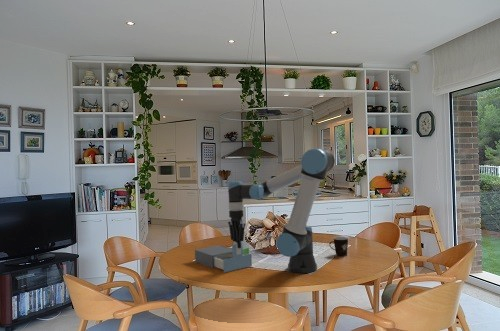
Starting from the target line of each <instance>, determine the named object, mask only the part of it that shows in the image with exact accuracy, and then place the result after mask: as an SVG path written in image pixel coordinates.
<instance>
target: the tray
mask: <svg viewBox="0 0 500 331" xmlns="http://www.w3.org/2000/svg"><path fill="white" fill-rule="evenodd" d="M231 248H232V253H228V254H223V255H218V256H213V258H214V266H215V267H217V269H220V270H223V273H227V272H232V271H233V272H234V271H237V270H240V269H244V268H248V267H252V265H253V262H252V258H253V257H252V253H250V254H247V255H243V247H242V243H241V254H238V255H236V244H234V243H233V244H231Z"/></svg>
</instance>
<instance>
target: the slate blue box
mask: <svg viewBox="0 0 500 331" xmlns="http://www.w3.org/2000/svg"><path fill="white" fill-rule="evenodd" d="M228 253H232V247H228V246H226V245H225V246H224V245H221V244H218V245H214V246H209V247H203V248H198V249H194V261H195V262H196V263H197V264H200V265H203V266H206V267H208V268H211V269H216V268H217V267H215V266H214V258H213V256H218V255H223V254H228ZM217 269H218V268H217Z"/></svg>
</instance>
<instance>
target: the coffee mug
mask: <svg viewBox="0 0 500 331" xmlns="http://www.w3.org/2000/svg"><path fill="white" fill-rule="evenodd" d="M332 243H333V244H334V248H333V247H332V246H331V244H332ZM348 244H349V238H348V237H345V236H335V237H333V241H329V244H328V246H329V247H330V248H331V250H333V251H335V256H337V257H347V255H348V247H349V245H348Z"/></svg>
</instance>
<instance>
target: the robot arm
mask: <svg viewBox="0 0 500 331" xmlns="http://www.w3.org/2000/svg"><path fill="white" fill-rule="evenodd" d="M301 156H302V157H301V161H300V163H301V164H299V165H297V166H295V167H292V168H291V169H288V170H287V171H285V172H282V173H281V174H277V175H275V176H274V177H272V178H270V179H268V180H266V181H263V182H261V183H255V184H254V183H253V184H243V182H242V181H241V180H240V181H239V180H237V181H233V180H232V181H229V182H228V189H227V192H228V193H227V194H228V210H229V211H228V214H229V215H228V216H229V218H230V221H228V222H227V224H228V227H229V233H230V240H232V242H233V244H236V255H238V254H241V241H243V240H244V230H245V228H246V223H245V222H243V219H242V218H243V217H244V210H243V209H244V206H243V204H244V203H243V200H262V198H267V197H269V196H271V194H273V193H275V192H278V191H281V190H283V189H285V188H287V187H290V186H291V185H294V184H296V183H299V182H300V184H299V187H298V191H297V192H296V197H295V200H294V204H293V207H292V208H291V209H292V210H291V213H290V216H289V220H288V222H287V223H284V225H283V229H282V231H281V233H280V234H279V235H278V236H277V237H276V238H277V239H276V240H275V245H276V248H277V250H278V252H279V253H280V254H281V255H283V256H284V257H288V258H289V259H288V260H289V261H288V263H287V270H288V271H289V272H292V273H296V274H297V273H298V274H306V273H308V274H309V273H313V272H316V271H317V270H318V265H317V262H316V259H315V256H314V244H313V228H312V226H311V225H308V222H309V218H310V216H311V211H312V209H313V205H314V203H315V199H316V195H317V193H318V190H319V187H320V183H321V182H323V181H325V179H326V176H327V173H328V172H330V171H331V170H332V169H334V167H335V162H336V159H335V156H334V154H333V153H332V152H331V151H330V150H328V149H323V148H316V147H315V148H314V147H313V148H310V149H308V150H307V151H305V152H304V153H303V155H301Z"/></svg>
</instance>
